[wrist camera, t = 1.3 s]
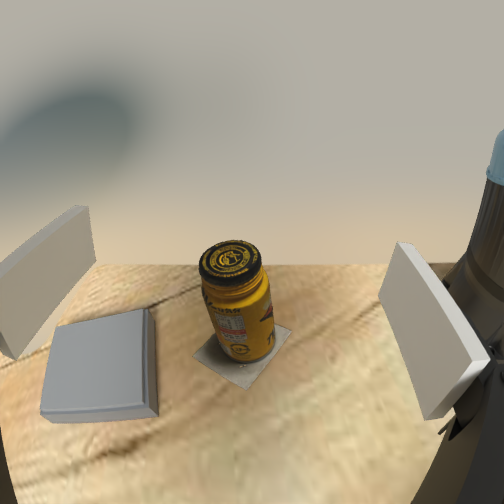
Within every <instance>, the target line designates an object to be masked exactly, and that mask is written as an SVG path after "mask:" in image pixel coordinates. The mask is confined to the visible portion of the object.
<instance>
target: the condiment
mask: <svg viewBox="0 0 504 504" xmlns="http://www.w3.org/2000/svg"><path fill="white" fill-rule="evenodd" d="M199 273H200V275H201V279H202V287H201V288H202V296H203V298H204V301H205V304H206V307H207V309H208V313H209V315H210V318H211V321H212V323H213V326H214V329H215V331H216V333H214V334H213V335H212V336H211V338H210V339H209V340H208V341H207V342H206V343H205V344H204V345H203V346H202V347H201V348H200V349H199V350H198V351H197V352H196V353H195V354H194V355H193V356H192V357H194V358H195V359H197V360H198V361H199V362H201V363H202V364H204V365H205V366H207V367H209V368H210V369H211V370H213V371H215V372H216V373H218V374H219V375H221V376H223V377H224V378H226V379H228V380H229V381H231V382H233V383H234V384H236V385H238V386H239V387H241V388H243V389H245V390H246V391H247V389H248V388H249V387H250V385H251V384H252V383H253V382H254V381H255V379H256V378H257V376H258V375H259V374H260V373H261V372H262V370H263V369H264V368H265V367H266V365H267V364H268V363H269V361H270V360H271V359H272V358H273V357H274V355H275V354H276V352H277V351H278V350H279V349H280V347H281V346H282V345H283V343H284V342H285V340H286V339H287V338H288V336H289V335H290V333H291V332H292V331H291V330H288V329H286V328H284V327H281V326H279V325H276V324H274V317H273V307H272V302H271V295H270V284H269V280H268V276H267V274H266V272H265V270H264V269H263V266H262V262H261V255H260V252H259V251H258V249H257V248H256V247H255V246H254V245H252V244H250V243H248V242H245V241H242V240H240V241H238V240H230V241H225V242H221V243H218V244H216V245H214V246H212V247H211V248H209V249H207V250H206V251H205V252H204V253H203V255H202V256H201V258H200V261H199ZM219 343H220V344H219ZM244 365H246V366H244ZM240 366H243V367H241V368H240Z"/></svg>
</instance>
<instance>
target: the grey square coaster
mask: <svg viewBox="0 0 504 504" xmlns="http://www.w3.org/2000/svg"><path fill="white" fill-rule="evenodd" d="M40 410H41V412H40V415H42V416H43V417H44V418H46V419H47V420H49V421H50V422H52V423H92V422H109V421H122V420H132V419H142V418H150V417H158V403H157V386H156V364H155V321H154V319H153V317H152V315H151V314H150V312H149V310H148V309H145V310H143V309H139V310H134V311H130V312H125V313H121V314H116V315H112V316H107V317H102V318H97V319H93V320H88V321H83V322H78V323H73V324H68V325H63V326H58V327H56V328H55V332H54V336H53V341H52V345H51V349H50V354H49V358H48V363H47V368H46V373H45V379H44V384H43V390H42V397H41V404H40Z"/></svg>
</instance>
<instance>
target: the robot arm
mask: <svg viewBox="0 0 504 504" xmlns="http://www.w3.org/2000/svg"><path fill="white" fill-rule="evenodd" d="M486 175H487V181H486V185H485V189H484V194H483V198H482V202H481V206H480V209H479V213H478V217H477V220H476V223H475V226H474V230H473V233H472V236H471V239H470V242H469V245H468V248H467V251H466V252H465V254H464V255H463V256H462V257H461V258H460V260H459V261H458V262H457V263H456V264H455V266H454V267H453V268H452V269H451V270H450V271H449V273H448V274H447V275H446V276H445V277H444V278H443V280H442V281H440V280H439V278H438V277H437V276H436V274H435V273H434V272H433V270H432V269H431V268H430V266H429V265H428V264H427V262H426V261H425V260H424V259H423V257H422V256H421V255H420V253H419V252H418V251H417V249H416V248H415V247H414V246H413V244H409V243H403V242H397V243H396V246H395V249H394V252H393V255H392V259H391V261H390V264H389V267H388V270H387V273H386V275H385V278H384V281H383V284H382V286H381V289H380V292H379V294H378V297H379V299H380V302H381V304H382V306H383V309H384V311H385V313H386V316H387V318H388V320H389V323H390V325H391V328H392V330H393V333H394V335H395V338H396V340H397V343H398V346H399V348H400V351H401V353H402V356H403V359H404V361H405V364H406V367H407V370H408V372H409V375H410V378H411V381H412V384H413V387H414V390H415V393H416V396H417V399H418V402H419V405H420V408H421V411H422V415H423V418H424V421H425V420H432V419H438V418H443V417H444V416H445V415H446V413H447V412H448V411H449V410H450V409H451V408H452V407H453V408H454V411H455V413H456V414H455V415H454V416H453V417H452V419H451V420H450V421H449V422H448V423H447V424H446V425H445V426H444V427H443V428H442V429H441V430H440V431H439V433H438V434H439V435H441V434H442V433H443V432H444V431H445V430H446V433H445V435H444V438H443V440H442V442H441V445H440V447H439V449H438V452H437V454H436V456H435V458H434V460H433V462H432V464H431V467H430V469H429V471H428V473H427V475H426V477H425V479H424V480H423V482H422V484H421V486H420V488H419V490H418V492H417V493H416V495H415V497H414V499H413V500H412V502H411V504H504V130H502V131H501V132H500V133H499V134H498V136H497V138H496V141H495V144H494V149H493V153H492V158H491V161H490V165H489V166H488V168H487V171H486ZM95 262H96V257H95V252H94V245H93V239H92V232H91V225H90V217H89V208H88V206H77V205H75V206H73V207H72V208H70V209H69V210H68V211H66V212H65V213H63V214H62V215H60V216H59V217H58V218H56V219H55V220H54V221H52V222H51V223H50V224H48V225H47V226H45V227H44V228H43V229H41V230H40V231H39V232H37V233H36V234H35V235H34V236H32V237H31V238H30V239H28V240H27V241H26V242H25V243H23V244H22V245H21V246H20V247H19V248H17V249H16V250H15V251H14V252H12V254H10V255H9V256H8V257H6V258H5V259H4V260H3V261H2V262H1V263H0V350H1V352H2V354H3V355H5V356H7V357H9V358H11V359H14V360H16V361H17V359H18V358H19V356H20V355H21V353H22V352H23V351H24V349H25V348H26V347H27V345H28V344H29V342H30V341H31V340H32V338H33V337H34V335H35V334H36V333H37V332H38V330H39V329H40V328H41V326H42V325H43V324H44V322H45V321H46V320H47V319H48V317H49V316H50V315H51V314H52V312H53V311H54V310H55V308H56V307H57V306H58V305H59V304H60V302H61V301H62V300H63V299H64V298H65V296H66V295H67V294H68V293H69V292H70V290H71V289H72V288H73V287H74V286H75V284H76V283H77V282H78V281H79V280H80V279H81V277H82V276H83V275H84V274H85V273H86V272H87V271H88V270H89V268H90V267H91V266H92V265H93V264H94V263H95ZM0 504H18V503H17V499H16V496H15V493H14V489H13V486H12V482H11V478H10V474H9V470H8V466H7V462H6V457H5V452H4V447H3V441H2V435H1V428H0Z"/></svg>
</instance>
